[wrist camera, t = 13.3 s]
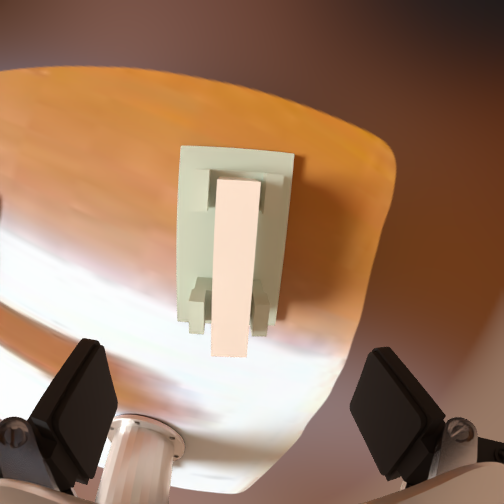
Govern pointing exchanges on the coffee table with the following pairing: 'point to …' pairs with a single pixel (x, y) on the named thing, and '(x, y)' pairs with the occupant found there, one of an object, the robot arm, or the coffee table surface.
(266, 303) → the grey mounting plate
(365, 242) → the coffee table surface
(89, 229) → the coffee table surface
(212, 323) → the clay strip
